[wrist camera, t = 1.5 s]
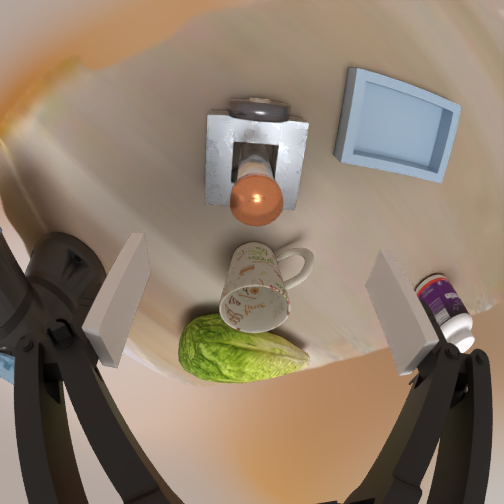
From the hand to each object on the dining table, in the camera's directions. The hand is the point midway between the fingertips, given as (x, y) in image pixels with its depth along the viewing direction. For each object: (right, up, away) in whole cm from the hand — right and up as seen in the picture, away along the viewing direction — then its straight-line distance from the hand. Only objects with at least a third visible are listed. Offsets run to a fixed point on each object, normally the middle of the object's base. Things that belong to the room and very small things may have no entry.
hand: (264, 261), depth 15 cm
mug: (+1, +1, +25) cm, 25 cm away
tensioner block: (0, +12, +16) cm, 20 cm away
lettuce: (-1, -15, +36) cm, 39 cm away
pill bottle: (+33, -6, +30) cm, 45 cm away
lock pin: (0, +12, +16) cm, 20 cm away
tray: (+17, +16, +14) cm, 27 cm away
